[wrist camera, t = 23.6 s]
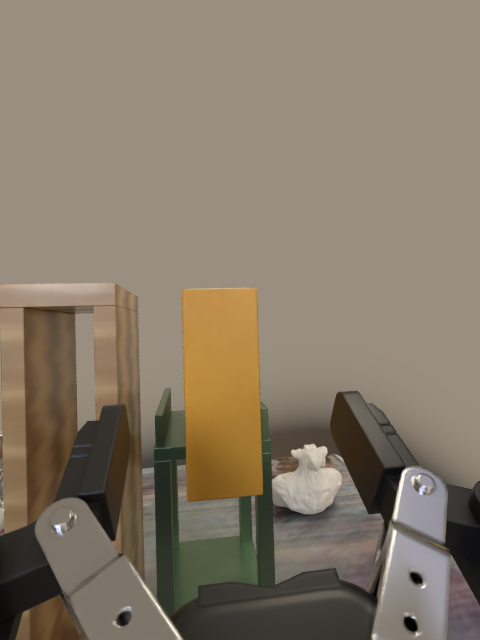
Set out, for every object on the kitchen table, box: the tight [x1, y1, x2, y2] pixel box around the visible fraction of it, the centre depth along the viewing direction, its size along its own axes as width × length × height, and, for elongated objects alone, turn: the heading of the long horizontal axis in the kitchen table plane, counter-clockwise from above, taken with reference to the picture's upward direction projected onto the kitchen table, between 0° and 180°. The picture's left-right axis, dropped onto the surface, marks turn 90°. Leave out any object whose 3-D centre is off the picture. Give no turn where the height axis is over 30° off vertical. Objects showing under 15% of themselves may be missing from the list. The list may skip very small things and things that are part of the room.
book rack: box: [154, 388, 275, 618], centre depth 34 cm, size 12×9×22 cm
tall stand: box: [0, 283, 145, 640], centre depth 32 cm, size 12×8×32 cm, turn 8°
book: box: [182, 288, 263, 502], centre depth 29 cm, size 21×4×11 cm, turn 8°
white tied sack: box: [272, 444, 342, 514], centre depth 55 cm, size 12×8×11 cm
